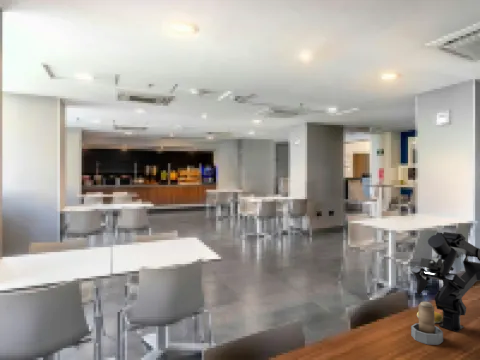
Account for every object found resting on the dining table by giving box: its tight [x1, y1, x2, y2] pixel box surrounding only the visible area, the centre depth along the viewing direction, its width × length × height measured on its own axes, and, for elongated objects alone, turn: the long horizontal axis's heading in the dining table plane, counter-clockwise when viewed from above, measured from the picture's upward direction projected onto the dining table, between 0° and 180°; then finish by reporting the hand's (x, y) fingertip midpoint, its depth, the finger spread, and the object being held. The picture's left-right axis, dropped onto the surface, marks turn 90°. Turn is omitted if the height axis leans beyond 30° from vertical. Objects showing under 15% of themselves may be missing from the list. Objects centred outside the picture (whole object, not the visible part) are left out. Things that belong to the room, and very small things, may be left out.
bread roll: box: [416, 311, 443, 324], centre depth 136 cm, size 8×9×4 cm
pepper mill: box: [417, 301, 436, 334], centre depth 119 cm, size 5×5×12 cm
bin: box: [410, 322, 444, 346], centre depth 119 cm, size 9×9×4 cm
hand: (428, 296), depth 122 cm, fingers open, 9 cm apart
